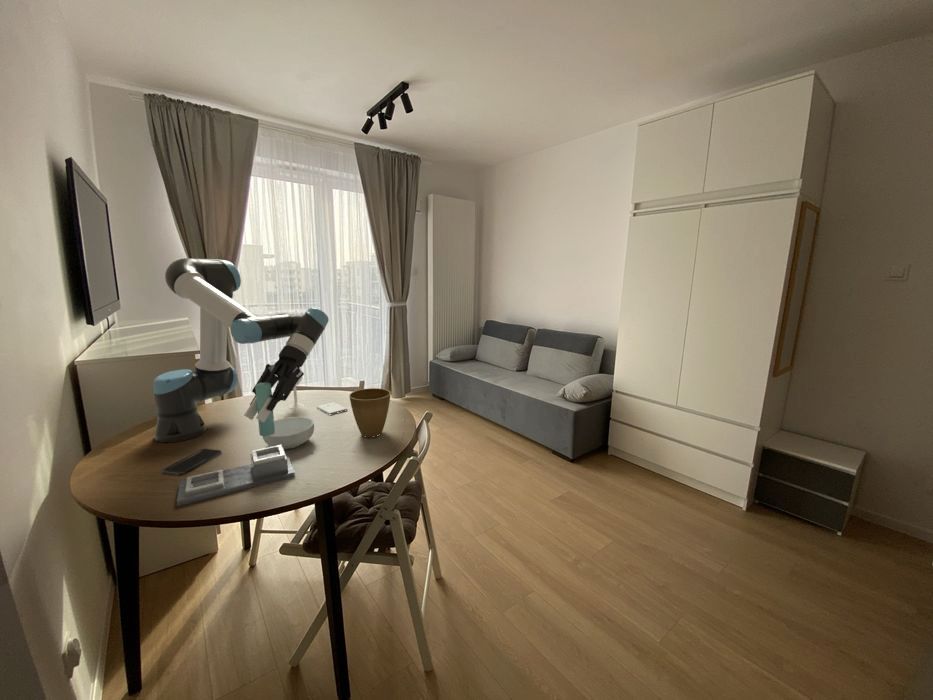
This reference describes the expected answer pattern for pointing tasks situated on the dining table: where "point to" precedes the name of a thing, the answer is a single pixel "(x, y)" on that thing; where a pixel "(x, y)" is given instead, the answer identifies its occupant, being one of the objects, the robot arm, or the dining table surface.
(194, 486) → the grey slotted holder
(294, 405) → the champagne flute
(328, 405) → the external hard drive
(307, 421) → the cereal bowl
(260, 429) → the plug
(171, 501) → the dining table surface
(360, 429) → the plant pot
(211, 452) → the phone
